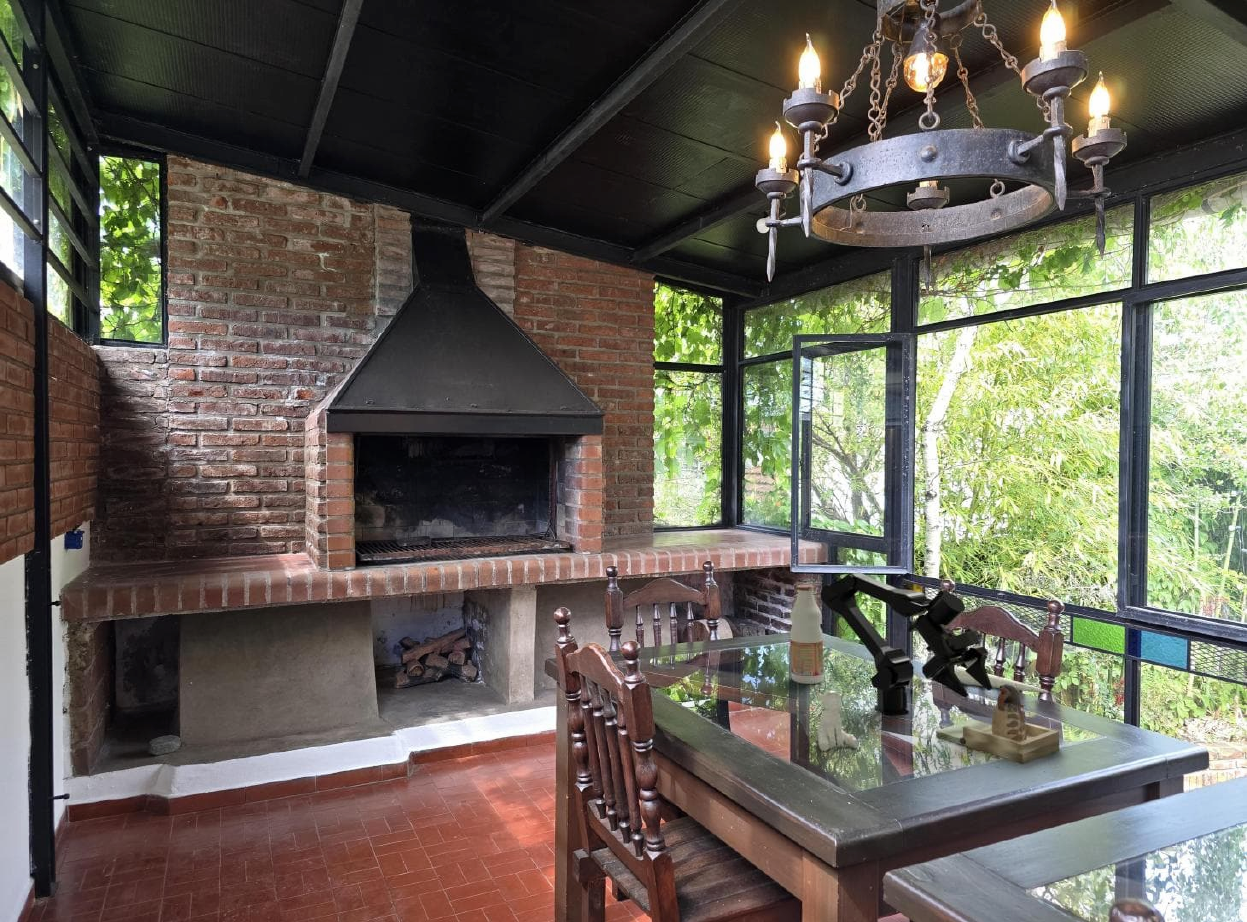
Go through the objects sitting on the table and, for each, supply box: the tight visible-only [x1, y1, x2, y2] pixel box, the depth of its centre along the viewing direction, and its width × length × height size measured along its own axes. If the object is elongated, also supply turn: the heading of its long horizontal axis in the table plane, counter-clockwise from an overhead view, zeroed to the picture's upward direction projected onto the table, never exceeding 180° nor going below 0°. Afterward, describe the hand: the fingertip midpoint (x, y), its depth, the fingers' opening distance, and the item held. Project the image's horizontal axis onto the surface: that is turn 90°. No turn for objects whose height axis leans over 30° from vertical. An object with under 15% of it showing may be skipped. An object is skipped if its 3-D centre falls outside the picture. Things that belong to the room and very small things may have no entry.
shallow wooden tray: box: [935, 719, 1060, 765], centre depth 177 cm, size 21×14×4 cm
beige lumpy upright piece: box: [816, 689, 860, 752], centre depth 179 cm, size 10×9×12 cm
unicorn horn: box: [955, 665, 1049, 694], centre depth 219 cm, size 5×24×5 cm, turn 54°
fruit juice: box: [789, 584, 825, 685], centre depth 231 cm, size 9×9×28 cm
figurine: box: [991, 684, 1027, 742], centre depth 174 cm, size 7×7×12 cm
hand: (978, 693), depth 180 cm, fingers open, 9 cm apart
